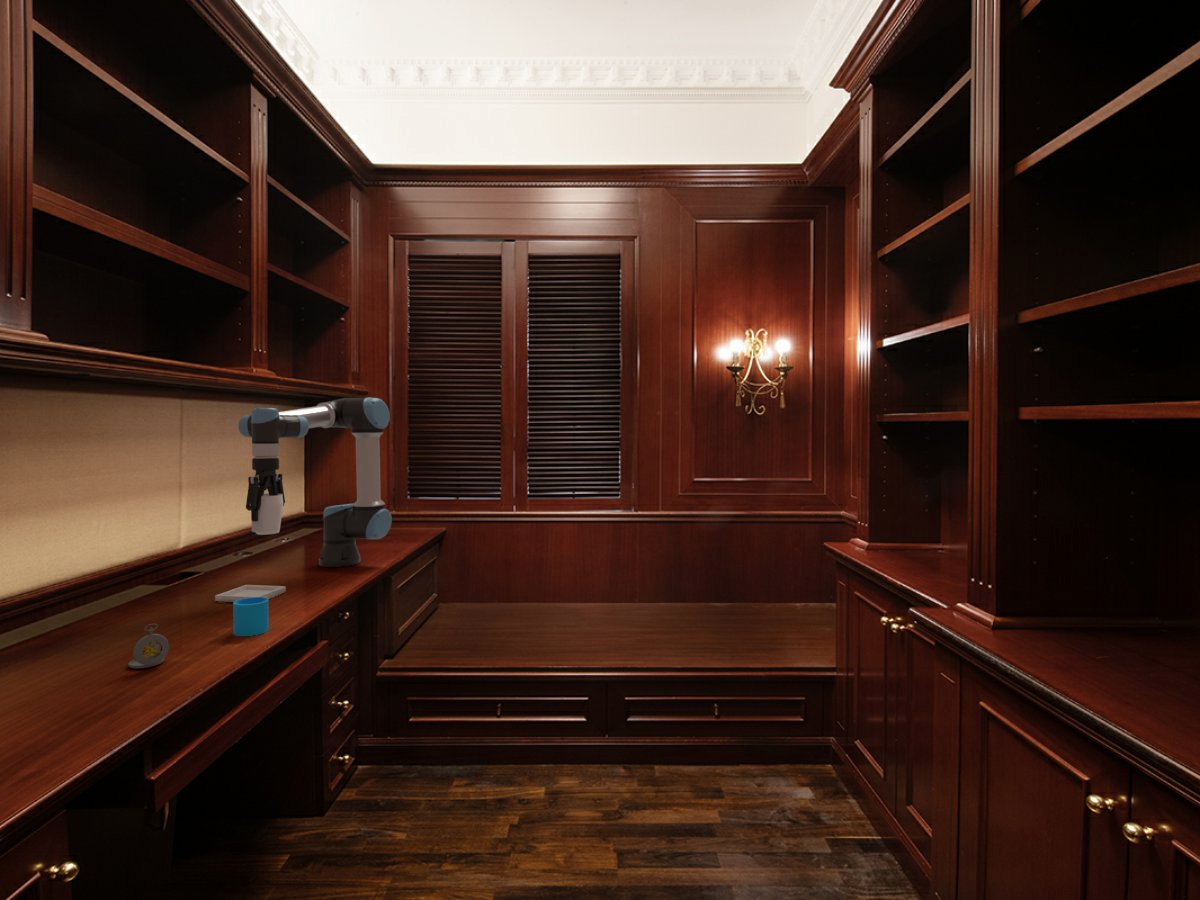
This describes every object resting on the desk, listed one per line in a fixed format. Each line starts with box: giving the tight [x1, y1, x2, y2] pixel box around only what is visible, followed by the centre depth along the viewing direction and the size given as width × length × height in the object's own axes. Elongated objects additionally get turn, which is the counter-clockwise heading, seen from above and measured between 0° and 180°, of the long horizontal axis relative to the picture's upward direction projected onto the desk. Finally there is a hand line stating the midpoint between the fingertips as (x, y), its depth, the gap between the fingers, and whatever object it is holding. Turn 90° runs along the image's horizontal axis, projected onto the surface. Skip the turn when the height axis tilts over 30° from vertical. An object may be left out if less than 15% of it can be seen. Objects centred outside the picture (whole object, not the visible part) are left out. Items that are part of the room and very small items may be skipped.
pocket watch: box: [128, 623, 170, 669], centre depth 146 cm, size 8×8×10 cm
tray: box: [214, 584, 287, 603], centre depth 206 cm, size 14×14×2 cm
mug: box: [232, 597, 270, 637], centre depth 173 cm, size 12×8×8 cm
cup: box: [255, 492, 284, 536], centre depth 205 cm, size 9×9×12 cm
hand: (266, 529), depth 206 cm, fingers closed on cup, 9 cm apart
